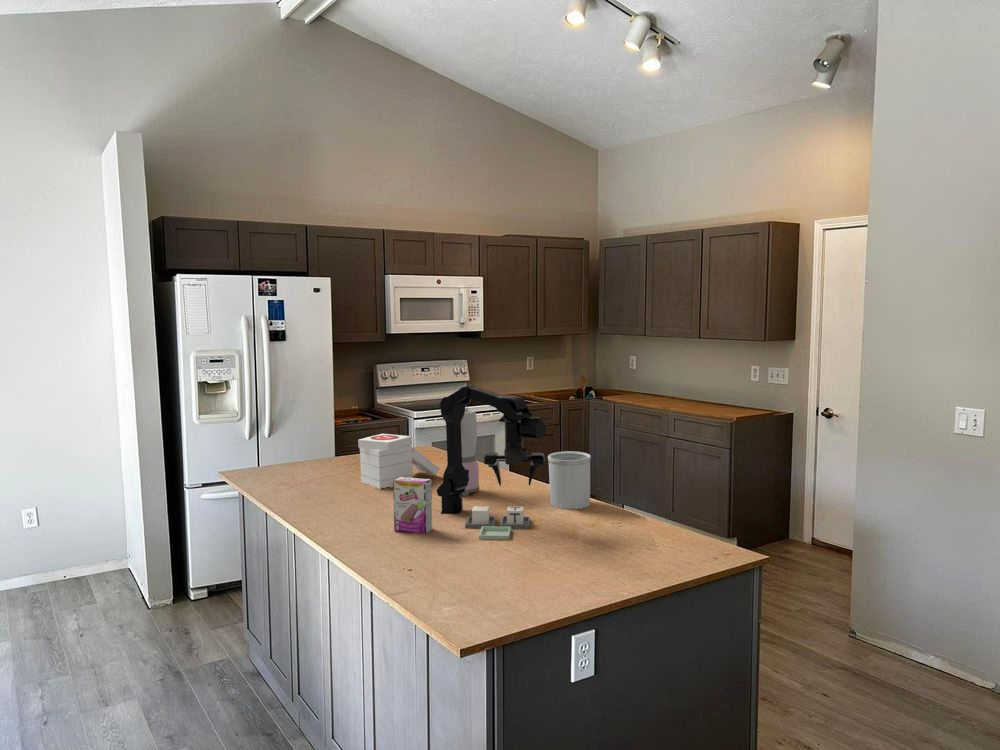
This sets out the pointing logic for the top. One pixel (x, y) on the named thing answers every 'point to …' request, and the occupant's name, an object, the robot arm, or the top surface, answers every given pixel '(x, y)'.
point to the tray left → (469, 524)
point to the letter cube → (515, 515)
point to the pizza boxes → (390, 459)
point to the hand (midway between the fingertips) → (514, 485)
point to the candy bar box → (412, 505)
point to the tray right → (515, 526)
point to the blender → (469, 449)
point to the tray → (494, 533)
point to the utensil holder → (569, 479)
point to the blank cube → (480, 515)
